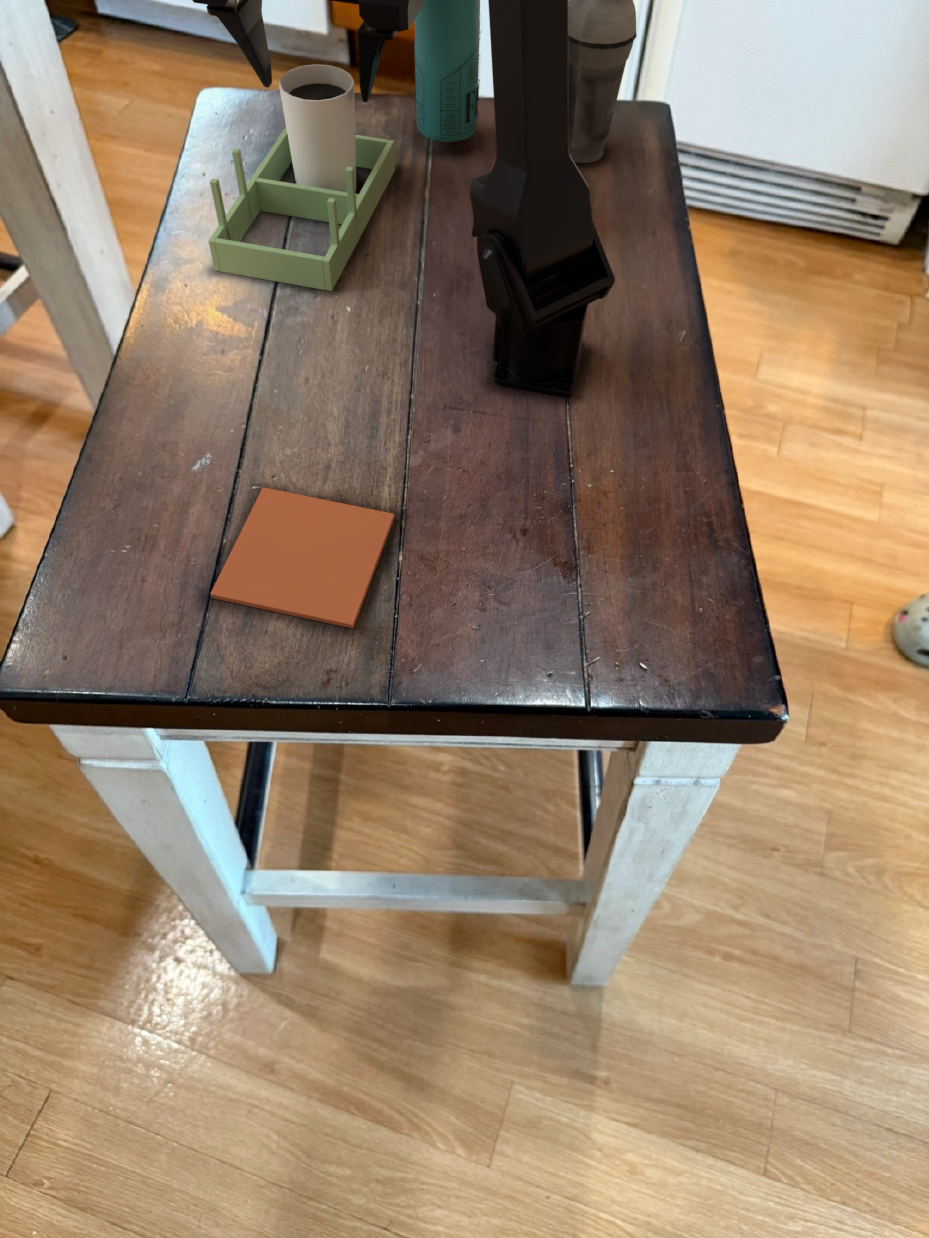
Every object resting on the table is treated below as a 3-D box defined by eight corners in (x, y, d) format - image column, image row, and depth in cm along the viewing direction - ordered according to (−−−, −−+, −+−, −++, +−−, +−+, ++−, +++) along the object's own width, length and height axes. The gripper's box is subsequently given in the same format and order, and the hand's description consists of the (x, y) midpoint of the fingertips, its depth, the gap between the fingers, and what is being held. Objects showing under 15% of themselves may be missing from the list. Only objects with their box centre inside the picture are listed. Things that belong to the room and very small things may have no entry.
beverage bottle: (470, 161, 94) (479, -71, 77) (407, 152, 95) (402, -80, 78) (483, 129, 98) (493, -99, 81) (421, 121, 98) (419, -108, 82)
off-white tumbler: (369, 176, 92) (363, 70, 84) (348, 213, 88) (340, 106, 80) (306, 166, 93) (294, 59, 84) (282, 201, 89) (267, 94, 81)
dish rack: (395, 170, 93) (393, 98, 87) (332, 291, 81) (324, 218, 76) (291, 153, 94) (282, 81, 88) (214, 271, 82) (198, 197, 77)
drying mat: (394, 518, 67) (394, 513, 66) (353, 629, 61) (353, 624, 61) (263, 491, 68) (262, 486, 67) (211, 598, 62) (209, 593, 62)
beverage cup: (628, 163, 95) (670, -67, 78) (564, 176, 93) (593, -56, 76) (597, 128, 98) (630, -98, 82) (535, 139, 97) (556, -89, 80)
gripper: (441, -142, 73) (440, 66, 86) (219, -169, 75) (250, 38, 88) (403, -91, 67) (408, 125, 80) (163, -121, 69) (205, 94, 82)
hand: (317, 92), depth 83 cm, fingers open, 9 cm apart
